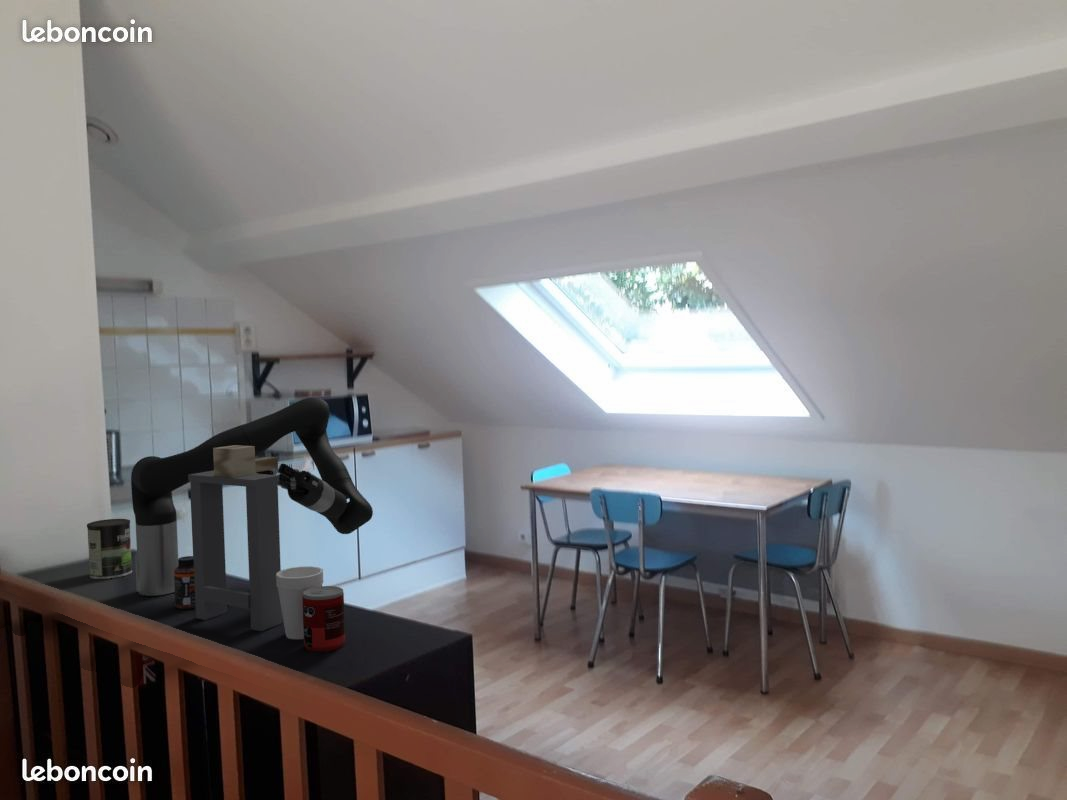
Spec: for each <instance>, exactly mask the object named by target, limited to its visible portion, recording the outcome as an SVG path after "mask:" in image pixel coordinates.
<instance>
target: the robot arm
mask: <svg viewBox="0 0 1067 800" xmlns="http://www.w3.org/2000/svg"><path fill="white" fill-rule="evenodd" d="M330 412H331V411H330V407H329V404H328V403H327V401H325V400H324V399H322V398H320V397H306V398H303V399H300V400H298V401H296V402H294V403H292V404H290V405H287V406H286V407H284V408H281V409H280V410H277V411H275V412H273V413H271V414H268V415H265V416H262V417H260V418H258V419H257V418H256V419H255V420H252V421H250V422H246V423H244V424H241V425H238V426H235V427H232V428H229V429H227V430H224V431H222V432H219V433H217V434H215V435H213V436H211V437H209V438H208V439H207V440H205V441H203V442H202V443H200V444H199V445H197V446H196V447H194V448H192V449H189V450H187V451H184V452H183V451H182V452H180V453H176V454H173V455H170V456H166V457H159V456H156V455H155V456H153V455H150V456H145V457H143V458H140V459H139V460H137V462H136V463H135V464H134V466H133V467H132V469H131V473H130V484H131V485H130V486H131V501H132V510H133V513H134V518H135V535H136V536H135V537H136V538H135V539H136V541H135V542H136V553H135V554H134V565H135V586H136V587H135V590H136V592H138V595H140V596H144V595H145V596H144V597H147V596H148V597H150V596H151V597H154V596H164V595H168V594H173V593H175V585H174V570H175V569H176V568H177V567H178V565H179V564H178V559H179V543H178V541H179V540H178V523H177V522H178V520H177V519H178V518H177V510H176V507H175V504H174V501H173V499H174V498H173V493H172V492H174V491H176V490H177V489H179V488H181V487H183V486H185V485H187V484H189V483H190V482H189V481H188V475H189V474H195V473H201V472H207V471H214V458H213V448H218V447H225V446H233V445H241V446H255V458H256V457H258V456H260V455H262V454H263V453H265V452H266V451H267V450H268V449H269V448H271V447H272V446H273V445H275V443H277V442H278V441H279V440H281V439H282V438H284V437H285V436H286V435H289V434H292V433H295V434H296V436H297V438H298V439H299V441H300V442H301V444H302V445H303V446H304V447H305V450H306V451H307V453H308V454H309V456H310V458H311V460H312V462H313V463H314V465H315V467H316V469H317V472H318V474H319V476H320V477H318V476H316V475H315V474H313V473H311V472H309V471H306V470H299V469H297V468H293V467H291V466H290V465H288V464H287V463H280V465H279V466H278V469H272V470H266V471H261V472H256V474H267V475H278V473H279V483H278V487H281V488H282V489H284V490H287V494H288V498H290V500H292V501H294V502H296V503H297V504H299V505H301V506H303V507H304V508H305V509H309V510H310V511H314V512H316V513H317V514H320V515H321V516H323V517H325V518H326V519H327V520H328V521H329V522H330V524H331V525H332V527H333V528H334V529H335V530H336V532H338V533H339V534H341V535H350V534H352V533H353V532H354V531H356V530H358V529H359V528H360V527H362V526H363V525H365V524H366V523H368V522H369V521H370V520H372V517H373V516H374V513H373V512H374V511H373V506H372V504H371V503H370V502H369V501H368V500H367V499H366V498H365V497H364V496H363V494H361V492H360V491H359V489H357V487H356V486H355V484H354V481H353V480H352V477H351V475H350V472H349V471H348V468H347V466H346V464H345V463H344V461H342V459H341V458H340V457H339V456H338V455H337V454H336V452H335V451H334V450H333V448H332V446H331V443H330V441H329V436H328V432H327V428H328V425H329V421H330V420H329V418H330ZM348 500H349V501H348Z"/></svg>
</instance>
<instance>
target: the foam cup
mask: <svg viewBox="0 0 1067 800" xmlns="http://www.w3.org/2000/svg"><path fill="white" fill-rule="evenodd" d="M276 584H277V587H278V592H279V598H280V604H281V610H282V622H283V625H284V626H283V627H284V634H285V636H286V638H287V639H289V640H304V629H303V602H302V600H303V599H302V595H303V592H304V591H305V590H307V589H310V588H314V587H320V586H323V584H324V569H323V568H321V567H319V566H308V565H307V566H305V565H304V566H295V567H294V566H293V567H289V568H285V569H284V568H283V569H281V571H279V572H277V574H276Z"/></svg>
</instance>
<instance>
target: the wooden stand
mask: <svg viewBox="0 0 1067 800" xmlns="http://www.w3.org/2000/svg"><path fill="white" fill-rule="evenodd" d="M188 481H189V483H190V501H191V502H190V503H191V504H190V505H191V507H190V508H191V529H192V530H191V531H192V549H193V550H192V552H193V554H192V556H193V557H194V581H195V606H196V607H195V619H198V620H204V621H207V620H209V619H212V618H216V617H218V616H221V615H223V614H226V613H228V606H230V607H237V608H242V609H248V610H249V611H250V630H254V631H258V632H264V631H265V630H268V629H272V628H274V627H276V626H279V625H281V624H284V621H283V615H282V610H281V604H280V598H279V592H278V587H277V584H276V574H277V572H279V571H281V570H282V569H281V566H282V565H281V543H280V518H279V515H280V514H279V510H280V507H279V486H278V483H279V475H278V474H276V475H267V474H257V473H256V474H251V475H245V476H239V477H222V476H214V471H207V472H201V473H195V474H189V475H188ZM224 485H225V486H233V487H234V486H235V487H236V486H237V487H245V497H246V499H245V501H246V529H247V530H246V531H247V554H248V555H247V556H248V559H247V560H248V581H249V582H248V583H249V585H248V586H249V592H247V591H246V592H245V591H240V590H234V589H229V588H227V572H226V571H227V570H226V548H225V547H226V546H225V545H226V544H225V523H224V522H225V519H224V497H223V496H224V495H223V494H224V493H223V486H224Z"/></svg>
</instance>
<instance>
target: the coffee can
mask: <svg viewBox="0 0 1067 800" xmlns="http://www.w3.org/2000/svg"><path fill="white" fill-rule="evenodd" d="M86 528H87V540H88V541H87V545H88V546H87V548H88V563H89V565H88V567H89V578H90V579H92V580H108V579H109V580H111V579H110V578H112V579H118V578H122V576H123V577H126V576H129V575H130V574H132V573H133V569H132V568H133V564H132V549H131V548H132V545H131V540H132V539H131V520H130V519H127V518H109V519H100V520H95V521H91V522H88V523H87V524H86ZM117 577H118V578H117Z"/></svg>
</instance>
